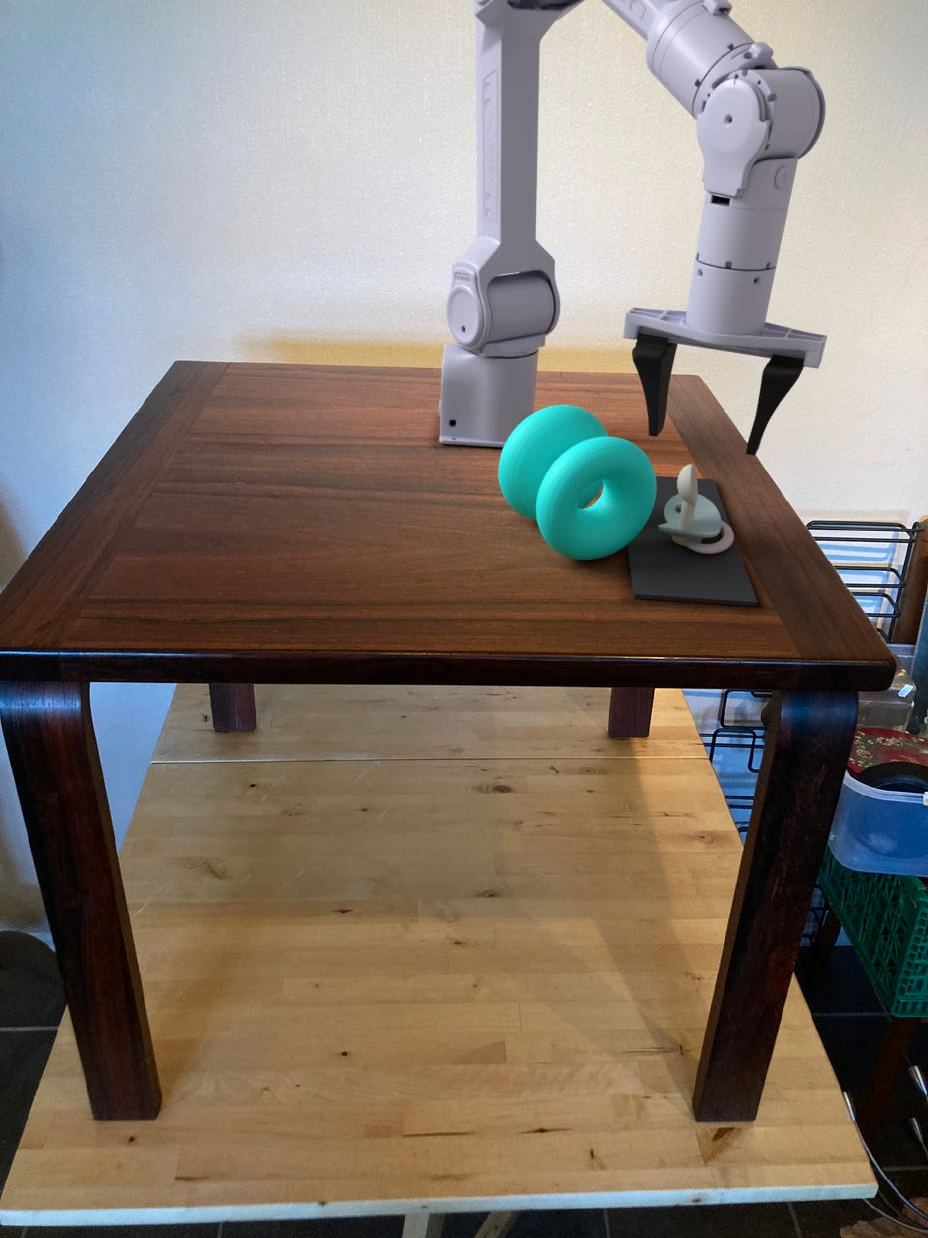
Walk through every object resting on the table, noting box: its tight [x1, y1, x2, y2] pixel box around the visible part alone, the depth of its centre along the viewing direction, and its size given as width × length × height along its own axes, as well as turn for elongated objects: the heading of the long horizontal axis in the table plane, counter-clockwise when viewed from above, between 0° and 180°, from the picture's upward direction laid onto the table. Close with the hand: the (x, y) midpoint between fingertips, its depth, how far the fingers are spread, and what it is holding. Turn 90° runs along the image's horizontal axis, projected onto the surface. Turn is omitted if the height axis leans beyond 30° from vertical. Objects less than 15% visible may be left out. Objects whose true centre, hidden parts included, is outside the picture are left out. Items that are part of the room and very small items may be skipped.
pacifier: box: [658, 463, 735, 554], centre depth 78 cm, size 7×6×6 cm
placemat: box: [625, 475, 758, 607], centre depth 81 cm, size 9×22×1 cm, turn 176°
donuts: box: [497, 404, 657, 561], centre depth 77 cm, size 10×10×10 cm
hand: (703, 441), depth 77 cm, fingers open, 7 cm apart
